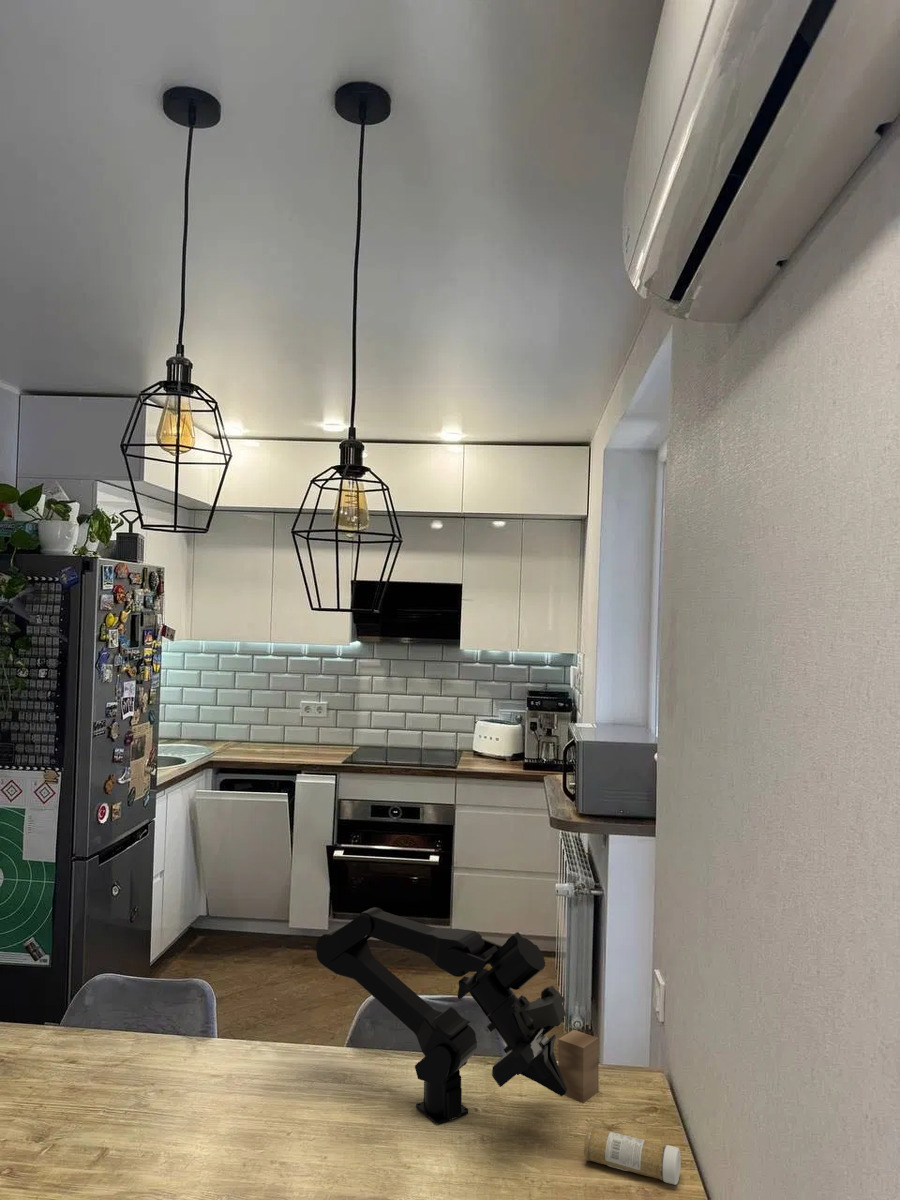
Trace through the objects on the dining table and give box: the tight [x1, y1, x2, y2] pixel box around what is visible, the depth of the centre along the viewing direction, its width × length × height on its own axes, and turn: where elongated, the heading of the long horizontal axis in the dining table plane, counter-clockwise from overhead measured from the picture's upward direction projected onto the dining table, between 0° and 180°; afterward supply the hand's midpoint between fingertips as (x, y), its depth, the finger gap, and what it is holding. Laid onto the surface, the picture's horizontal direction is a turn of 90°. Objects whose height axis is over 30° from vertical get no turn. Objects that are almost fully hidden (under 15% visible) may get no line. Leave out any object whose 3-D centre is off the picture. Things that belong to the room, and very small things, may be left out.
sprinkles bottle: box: [583, 1125, 682, 1186], centre depth 123 cm, size 5×5×13 cm
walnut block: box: [557, 1029, 600, 1104], centre depth 146 cm, size 5×5×9 cm
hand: (564, 1093), depth 130 cm, fingers closed
